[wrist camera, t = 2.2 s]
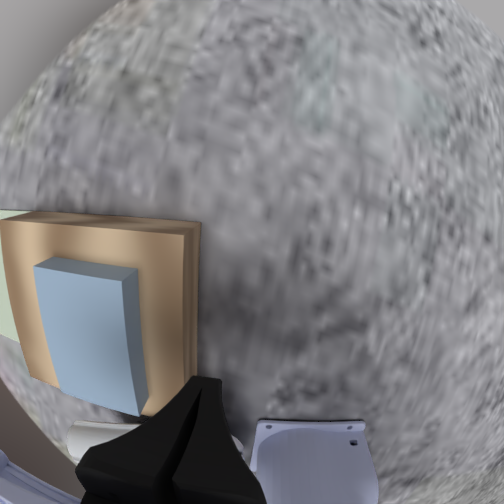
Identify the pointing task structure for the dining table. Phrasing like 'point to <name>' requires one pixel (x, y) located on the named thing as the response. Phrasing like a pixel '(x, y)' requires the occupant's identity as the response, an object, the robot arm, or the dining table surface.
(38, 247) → the light brown flat block
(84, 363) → the blue box
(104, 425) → the photo printer
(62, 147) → the dining table surface
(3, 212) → the mat
